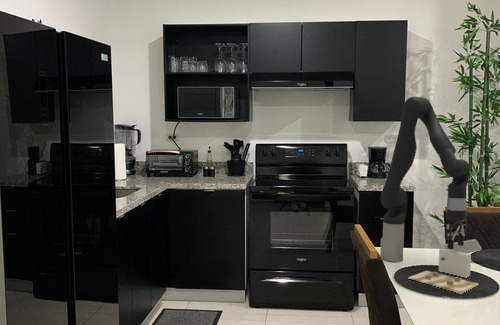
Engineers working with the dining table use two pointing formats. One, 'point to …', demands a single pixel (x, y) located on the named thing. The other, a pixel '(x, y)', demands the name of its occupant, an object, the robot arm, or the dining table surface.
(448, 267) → the door panel
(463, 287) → the light brown flat board
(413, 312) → the dining table surface
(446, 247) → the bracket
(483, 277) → the dining table surface
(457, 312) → the dining table surface
